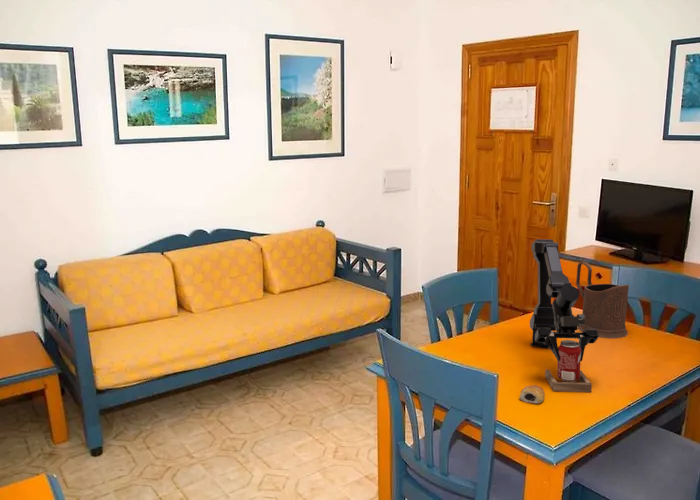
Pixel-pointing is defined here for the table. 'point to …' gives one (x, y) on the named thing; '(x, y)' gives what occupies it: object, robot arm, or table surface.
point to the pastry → (532, 394)
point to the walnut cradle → (569, 384)
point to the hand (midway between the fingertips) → (570, 360)
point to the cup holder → (603, 306)
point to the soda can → (569, 361)
